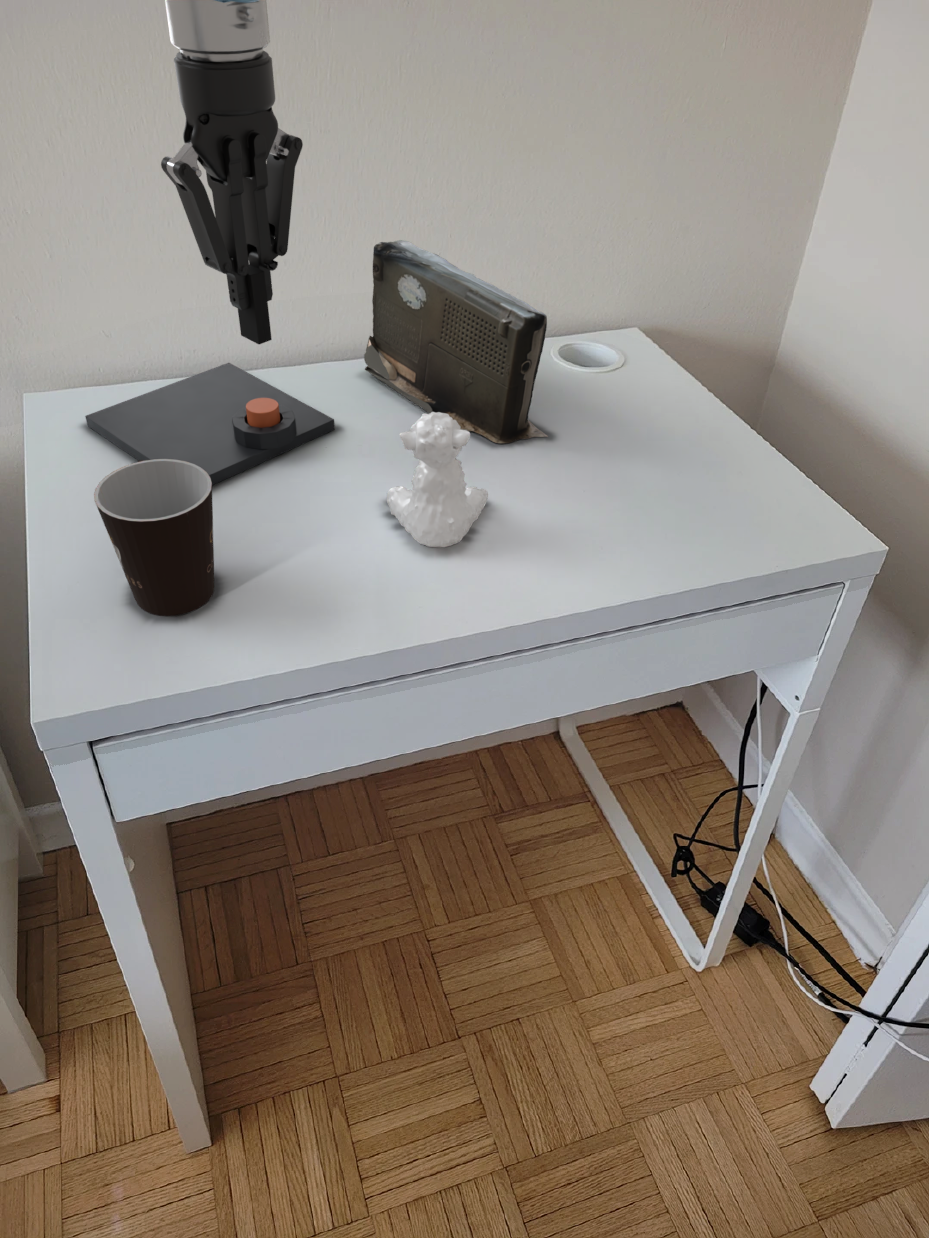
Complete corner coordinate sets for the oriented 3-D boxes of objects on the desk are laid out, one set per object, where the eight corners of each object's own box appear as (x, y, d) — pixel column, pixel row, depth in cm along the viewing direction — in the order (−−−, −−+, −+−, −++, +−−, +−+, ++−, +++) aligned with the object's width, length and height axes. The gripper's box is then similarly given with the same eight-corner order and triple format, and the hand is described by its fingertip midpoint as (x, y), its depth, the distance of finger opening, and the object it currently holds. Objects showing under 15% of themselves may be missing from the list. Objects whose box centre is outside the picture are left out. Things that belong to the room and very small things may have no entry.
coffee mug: (216, 627, 75) (197, 523, 69) (107, 623, 75) (78, 519, 69) (244, 541, 84) (230, 442, 78) (146, 537, 84) (124, 437, 77)
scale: (193, 498, 89) (188, 470, 87) (87, 426, 98) (80, 399, 96) (338, 431, 99) (337, 405, 97) (230, 372, 108) (226, 347, 106)
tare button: (261, 432, 93) (259, 416, 92) (241, 420, 95) (239, 404, 94) (286, 421, 95) (285, 405, 94) (266, 410, 97) (264, 394, 96)
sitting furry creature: (486, 501, 90) (494, 385, 82) (494, 556, 84) (503, 436, 76) (387, 501, 90) (384, 385, 82) (386, 557, 83) (384, 435, 75)
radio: (548, 436, 100) (563, 298, 90) (483, 460, 96) (492, 318, 86) (422, 354, 114) (423, 226, 104) (360, 372, 110) (356, 240, 100)
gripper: (179, 70, 68) (223, 373, 84) (318, 48, 76) (335, 330, 91) (121, 53, 72) (174, 345, 88) (259, 33, 79) (285, 306, 95)
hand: (256, 337), depth 89 cm, fingers closed
